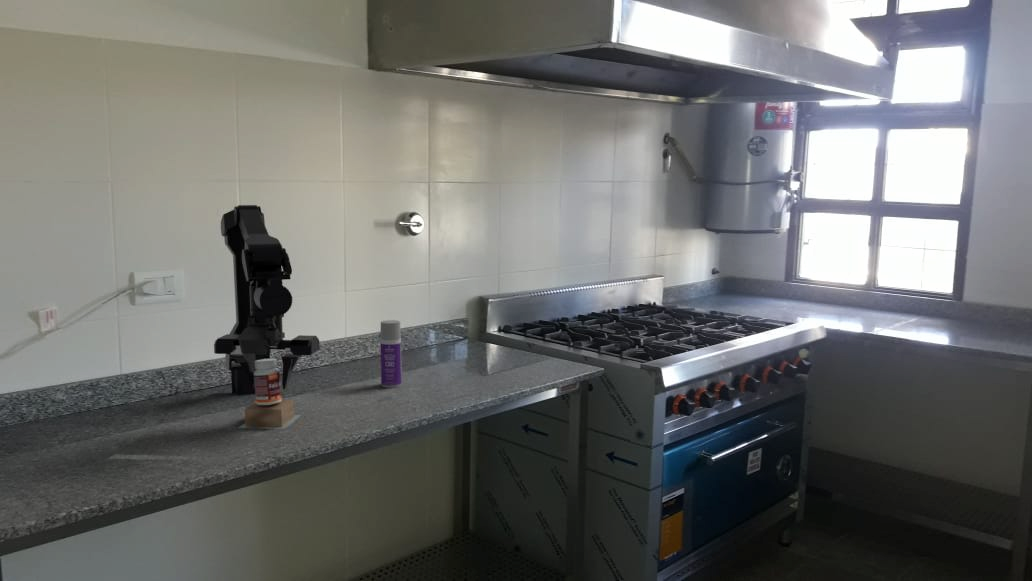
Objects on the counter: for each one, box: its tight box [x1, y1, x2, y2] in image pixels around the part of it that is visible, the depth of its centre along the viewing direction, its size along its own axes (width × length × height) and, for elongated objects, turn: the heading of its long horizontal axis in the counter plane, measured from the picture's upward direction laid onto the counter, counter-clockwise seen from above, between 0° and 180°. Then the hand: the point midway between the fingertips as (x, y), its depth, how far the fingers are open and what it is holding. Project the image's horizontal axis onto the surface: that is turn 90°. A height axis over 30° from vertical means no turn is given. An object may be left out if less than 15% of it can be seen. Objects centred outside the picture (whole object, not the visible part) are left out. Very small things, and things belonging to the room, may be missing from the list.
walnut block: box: [244, 399, 295, 427], centre depth 153 cm, size 7×7×3 cm
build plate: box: [238, 414, 301, 430], centre depth 154 cm, size 17×12×1 cm
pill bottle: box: [254, 358, 283, 405], centre depth 153 cm, size 5×5×8 cm
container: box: [380, 319, 402, 389], centre depth 183 cm, size 5×5×15 cm
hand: (269, 388), depth 153 cm, fingers open, 6 cm apart
